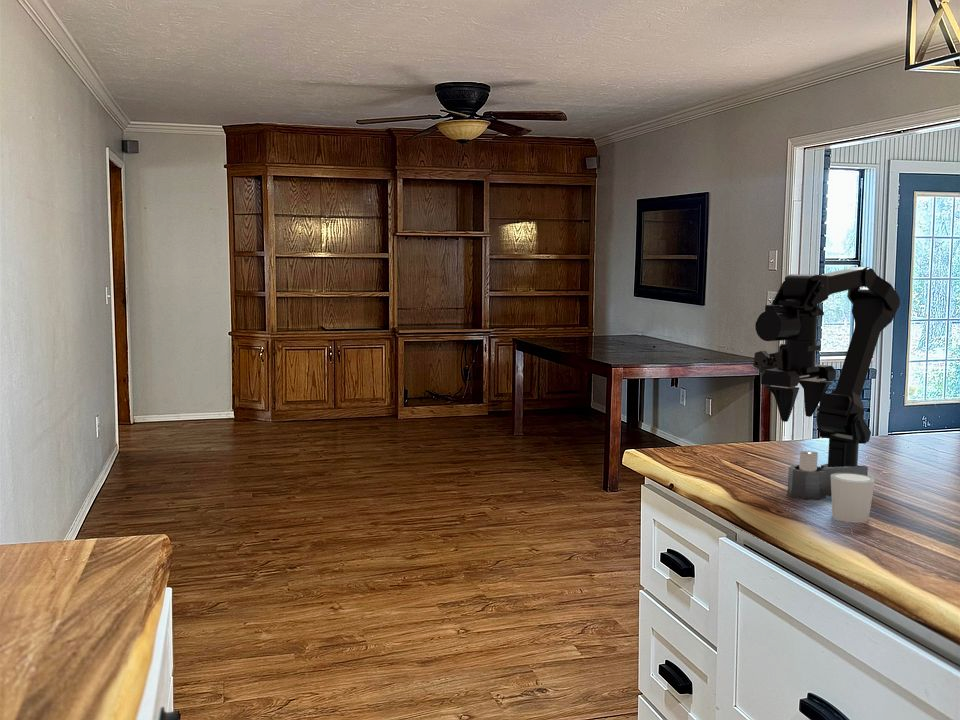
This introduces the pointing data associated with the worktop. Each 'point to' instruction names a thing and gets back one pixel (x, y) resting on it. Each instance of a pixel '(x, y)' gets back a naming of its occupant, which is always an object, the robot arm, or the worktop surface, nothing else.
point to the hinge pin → (808, 461)
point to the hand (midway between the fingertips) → (796, 418)
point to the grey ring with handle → (816, 481)
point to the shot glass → (851, 496)
